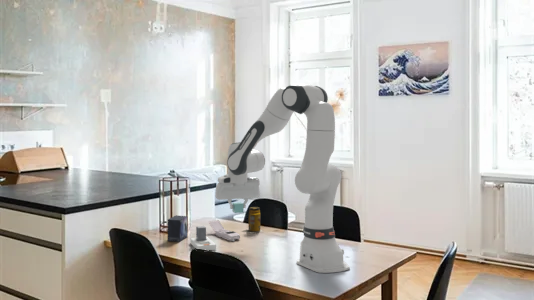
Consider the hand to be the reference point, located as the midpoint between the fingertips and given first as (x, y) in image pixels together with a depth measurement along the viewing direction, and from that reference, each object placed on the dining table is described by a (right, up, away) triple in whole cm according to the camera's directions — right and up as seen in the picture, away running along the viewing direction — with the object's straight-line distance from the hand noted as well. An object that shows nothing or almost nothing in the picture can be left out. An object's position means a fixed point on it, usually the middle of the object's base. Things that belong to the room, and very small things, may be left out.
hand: (237, 208), depth 238 cm
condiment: (+6, -15, +28) cm, 33 cm away
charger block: (-17, -17, 0) cm, 24 cm away
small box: (-29, -16, +11) cm, 35 cm away
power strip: (-16, -17, -3) cm, 23 cm away
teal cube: (0, -2, 0) cm, 2 cm away
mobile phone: (-7, -16, +17) cm, 24 cm away
